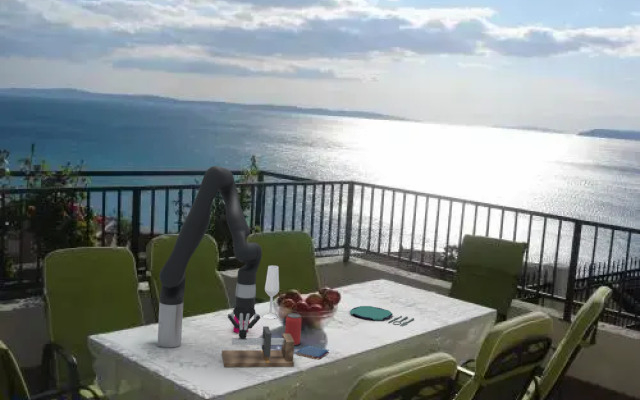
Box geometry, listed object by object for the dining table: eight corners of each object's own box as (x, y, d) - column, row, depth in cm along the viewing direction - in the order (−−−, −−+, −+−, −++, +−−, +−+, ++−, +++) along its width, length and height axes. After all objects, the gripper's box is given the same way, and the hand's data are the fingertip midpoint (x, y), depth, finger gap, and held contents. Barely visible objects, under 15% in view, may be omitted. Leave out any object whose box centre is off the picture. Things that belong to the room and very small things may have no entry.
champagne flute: (276, 319, 318) (280, 268, 315) (262, 318, 318) (265, 267, 315) (277, 315, 324) (281, 265, 322) (263, 314, 324) (266, 264, 322)
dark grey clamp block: (264, 356, 258) (266, 333, 257) (261, 348, 266) (263, 326, 265) (270, 356, 258) (271, 333, 257) (266, 348, 267) (268, 326, 266)
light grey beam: (232, 345, 258) (232, 339, 258) (231, 343, 260) (232, 337, 260) (284, 345, 262) (284, 339, 262) (283, 343, 264) (283, 337, 264)
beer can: (288, 346, 280) (290, 318, 279) (281, 341, 286) (283, 313, 285) (302, 345, 284) (304, 316, 282) (295, 340, 289) (297, 312, 288)
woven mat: (305, 348, 280) (306, 344, 280) (329, 354, 276) (329, 349, 276) (294, 356, 271) (295, 351, 271) (319, 361, 267) (319, 356, 267)
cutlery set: (362, 307, 349) (363, 303, 349) (416, 320, 334) (417, 316, 334) (343, 315, 332) (343, 311, 332) (399, 330, 317) (399, 325, 317)
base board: (224, 367, 252) (225, 343, 251) (221, 354, 266) (223, 331, 265) (293, 366, 258) (295, 343, 257) (287, 353, 271) (289, 331, 270)
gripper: (261, 292, 266) (258, 335, 267) (227, 291, 263) (224, 335, 265) (263, 297, 258) (260, 342, 260) (228, 296, 256) (225, 341, 257)
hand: (242, 338), depth 262 cm, fingers closed
